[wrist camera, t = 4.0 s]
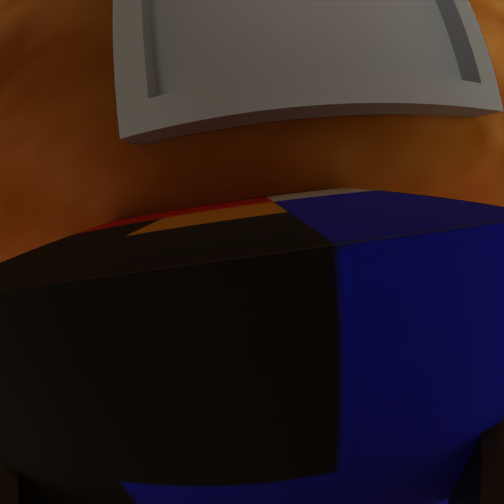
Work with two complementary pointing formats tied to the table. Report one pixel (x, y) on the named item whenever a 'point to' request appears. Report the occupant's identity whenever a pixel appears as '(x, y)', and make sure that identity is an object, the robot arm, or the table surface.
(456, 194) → the table surface
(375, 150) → the table surface
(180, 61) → the tray
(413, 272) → the puzzle toy
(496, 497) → the robot arm
